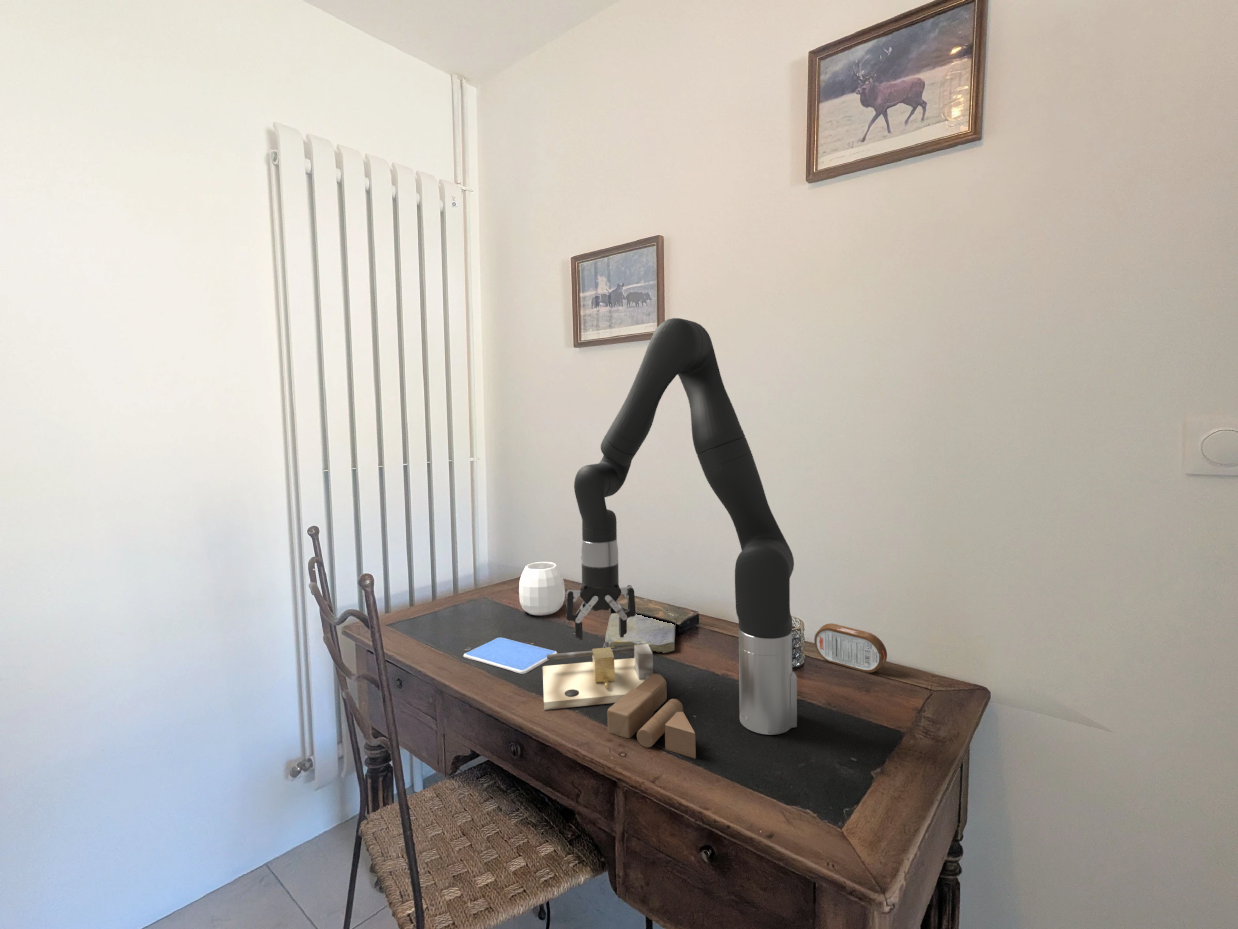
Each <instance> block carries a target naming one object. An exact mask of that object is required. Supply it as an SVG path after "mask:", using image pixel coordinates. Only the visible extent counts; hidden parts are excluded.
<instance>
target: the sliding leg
mask: <svg viewBox="0 0 1238 929" xmlns="http://www.w3.org/2000/svg"><path fill="white" fill-rule="evenodd" d="M591 651H592V656H591V658H592V662H593V674H594V679H595V682H604V686H605V688H609V683H608V681H615V668H614V660H615V656H614V654H613V652H612V649H611V647H607V648H604V647H600V648H599V647H597V648H592V649H591Z"/></svg>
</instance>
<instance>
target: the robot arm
mask: <svg viewBox="0 0 1238 929" xmlns="http://www.w3.org/2000/svg"><path fill="white" fill-rule="evenodd" d="M720 371H721V370H720V368H719V365H718V361H717V357H716V352H715V348H714V345H713V342H712V338H711V336H710V334H709V333H708V331H707V330H706V328H704V326H703V325H701V324H699V323H697V321H692V320H689V319H684V318H678V317H677V318H675V317H671V318H668V319H666V320H664V321H662V322H661V323H660V324H659V325H658V326H657V327H656V328H655V330H654V331H653V333H652V336H651V338H650V340H649V342H648V345H647V348H646V350H645V352H644V356H643V358H642V361H641V364H640V365H639V368H638V371H637V374H636V376H635V378H634V380H633V383H632V385H631V387H630V390H629V392H628V393H627V396H626V398H625V400H624V402H623V404H622V405H621V408H620V409H619V411H618V413H617V415H616V416H615V418H614V419H613V422H612V423H611V425H610V426H609V429H608V430H607V432H606V434H605V435H604V437H603V439H602V441H601V443H600V451H601V453H602V455H603V457H602V458H601V460H600V461H599V463H593V464H587V465H584V466H582V467H580V468H579V469H578V471H577V472H576V474H575V478H574V481H573V482H574V484H573V488H574V489H573V490H574V494H575V495H574V496H575V499H576V502H577V507H578V511H579V514H580V516H581V520H582V521H581V524H582V525H581V527H582V528H581V530H582V531H581V532H582V533H581V536H582V541H581V542H582V543H581V551H580V552H581V556H580V559H581V560H580V561H581V588H580V590H579V589H578V590H577V589H576V590H575V589H572V588H567V590H566V598H565V599H566V601H565V604H566V605H565V617H566V620H567V621H569V622H574V635H575V638H577V639H578V641H583V620H584V618H585V617H586V616H588V615H589V612H590V611H591V610H593V611H594V612H598V611H600V610H603V611H609V610H610V609H613V611H615V612H614V613H617V614H618V615H619V616H620V617H619V636H620V638H621V637H624V634H626V633H627V619H628V618H629V617H631V616H632V617H634V616H635V615H636V613H637V611H636V598H635V597H636V596H635V590H634V588H633V586H632V585H630V584H629V585H627V586H625V587H620V585H619V582H620V581H619V576H620V575H619V547H618V539H617V536H618V535H617V534H618V532H617V530H618V529H617V526H618V525H617V524H618V522H617V515H616V513H615V512H614V511H613V510H611V509H607V504H606V498H608V497H611V496H614V495H615V494H616V493H618V491H619V490H620V489H622V486H623V485H624V484H625V482H626V479H627V476H628V474H629V471H630V468H631V465H632V461H633V459H634V458H635V457H636V454H637V453H638V452H639V450H640V448H641V446H642V445H643V443H644V442H645V441H646V439H647V437H648V435H649V432H650V431H651V428H652V426H653V423H654V419H655V416H656V413H657V410H658V406H659V403H660V401H661V399H662V397H663V396H664V393H665V392H666V390H667V388H668V387H669V385H670V384H671V383H672V382H673V380H674V379H675V378H676V376H678V377H679V380H680V383H681V384H682V386H683V389H684V392H685V394H686V397H687V400H688V404H689V409H690V421H691V422H690V423H691V434H692V436H691V437H692V442H693V447H694V450H695V453H696V457H697V458H698V461H699V464H700V466H701V469H702V472H703V475H704V477H705V479H706V481H707V483H708V485H709V487H710V489H711V490H712V491H713V492H714V494H715V495H716V497H717V498H718V500H719V502H721V504H722V505H723V507H724V508H725V510H726V511H727V513H728V514H729V517H730V518H731V521H732V523H733V526H734V528H735V531H736V534H737V537H738V538H737V539H738V541H739V545H740V549H741V552H740V553H739V554H738V556H737V557H736V558H737V559H736V561H735V565H734V566H735V567H734V597H735V598H734V599H735V611H736V616H737V619H738V677H739V678H738V686H739V687H738V690H739V691H738V692H739V695H738V696H739V702H738V703H739V704H738V706H739V707H738V709H739V710H738V711H739V722H740V724H741V725H742V726H743V727H744V728H746V729H747V730H749V731H751V732H754V733H756V734H760V735H766V736H767V735H769V736H772V735H780V734H784V733H787V732H788V731H789V730H790V729H793V728H797V727H798V726H797V725H798V724H797V722H798V707H797V706H798V704H797V703H798V697H797V696H798V683H797V682H798V679H797V678H798V676H797V674H796V673H795V672H794V671H793V616H792V614H791V602H790V601H791V594H790V593H791V590H790V588H791V587H790V586H791V576H792V574H793V572H794V569H795V568H794V567H795V566H794V565H795V562H794V561H795V560H794V556H793V552H792V550H791V547H790V546H789V544H788V542H787V540H786V538H785V536H784V534H783V533H782V531H781V529H780V527H779V525H778V522H777V521H776V519H775V516H774V514H773V512H772V510H771V508H770V505H769V502H768V499H767V497H766V493H765V489H764V486H763V483H762V480H761V476H760V474H759V471H758V468H757V465H756V461H755V459H754V456H753V455H754V454H753V453H752V450H751V447H750V445H749V443H748V440H747V437H746V435H745V433H744V430H743V427H742V425H741V424H740V421H739V419H738V415H737V413H736V411H735V408H734V406H733V404H732V401H731V400H730V397H729V394H728V392H727V390H726V388H725V385H724V382H723V378H722V375H721V372H720ZM621 595H623V596H624V598H625V599H627V609H624V608H623V607H622V606H621V605H620V603H619V602H618V599H619V598H620V596H621ZM578 597H580V598H581V599H582V600H583V602H581V605H580V606H579V608H578V610H577V611H576V613H575V612H573V611H574V602H576V601H577V600H578Z"/></svg>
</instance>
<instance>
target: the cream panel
mask: <svg viewBox="0 0 1238 929" xmlns="http://www.w3.org/2000/svg"><path fill="white" fill-rule="evenodd" d="M612 652H613V655H614V654H624V653H634V656H633V658H632V657H631V658H630V657H629V658H621V659H620V658H619V659H614V668H615V681H608V683H609V688H605V686H604V682H595V679H594V674H593V661H585V662H576V663H575V662H574V663H566V664H565V663H564V664H552V665H544V666H542V681H543V682H542V684H543V686H542V687H543V689H542V690H543V710H544V711H547V710H556V709H566V708H567V709H568V708H576V707H578V708H579V707H586V706H587V707H588V706H595V705H596V706H597V705H605V704H606V705H607V704H615V703H616V702H617V701H618V700H619V699H621V698H622V697H623V696H624V695H625V694H626V693H628V692H629V691H630V690H631V689H635V688H637V687H638V686H639V685H640V684H641V683H642V682H644V681H645V680H646V679H647V678H648V677H649V676H651V675H652V674H653V673H654V653H653V651H651V649H650V647H649V645H648V644H642V645H634V647H629V648H617V649H612ZM589 656H590V657H592V650H585V651H573V652H563V653H562V652H561V653H560V652H559V653H557V654H548V655H547V659H550V660H556V659H568V658H569V659H570V658H580V657H582V658H583V657H589Z"/></svg>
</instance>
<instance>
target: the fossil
mask: <svg viewBox="0 0 1238 929" xmlns="http://www.w3.org/2000/svg"><path fill="white" fill-rule="evenodd" d="M667 613H668V614H670V615H672V616H675V615H674V614H673V613H671V612H667ZM619 617H620V616H619V615H618V614H617V613H616V612H614V613H613V612H612V613H610V616H609V618H608V623H607V626H606V627H607V628H606V632H605V639H604V641H605V642H604V643H603V648H604V647H605V648H607V647H611V648H629V647H634V645H642V644H648V645H649V647H650V649H651V651H652V652H653V651H656V652H655V653H660V652H662V654H666V653H670V652H674V651H675V639H676V624H675V625H674V624H672V623H667V622H663V621H659V620H656V619H653V618H648V617H644V616H642V615H637V614H636V615H635V616H634V617H632V616H631V617H629V618H628V619H627V633H626V634H624V637H621V638H620V636H619Z"/></svg>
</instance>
